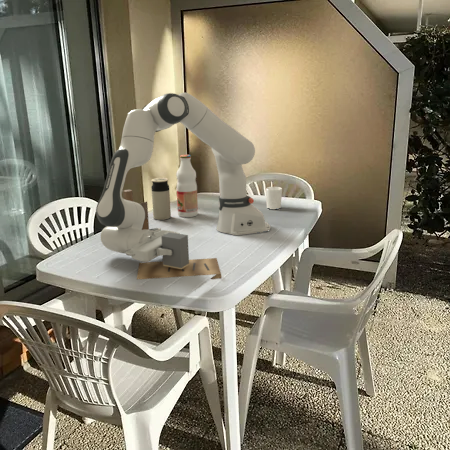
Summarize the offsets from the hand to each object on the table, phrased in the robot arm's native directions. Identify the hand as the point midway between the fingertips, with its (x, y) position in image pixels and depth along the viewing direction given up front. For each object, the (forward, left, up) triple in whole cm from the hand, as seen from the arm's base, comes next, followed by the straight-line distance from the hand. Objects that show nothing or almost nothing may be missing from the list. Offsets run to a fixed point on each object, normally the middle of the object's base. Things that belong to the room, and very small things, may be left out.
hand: (177, 249), depth 147 cm
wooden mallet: (+16, -44, -8) cm, 48 cm away
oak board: (0, 0, -8) cm, 8 cm away
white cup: (-48, -74, -8) cm, 89 cm away
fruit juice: (-6, -70, -8) cm, 71 cm away
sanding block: (+1, -1, -6) cm, 6 cm away
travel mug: (+6, -67, -8) cm, 68 cm away
